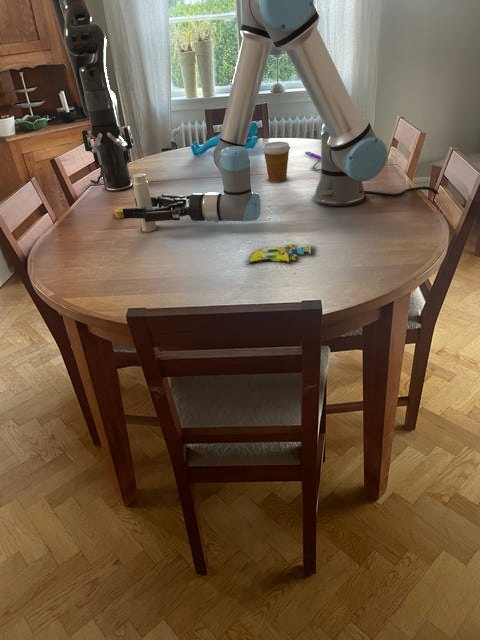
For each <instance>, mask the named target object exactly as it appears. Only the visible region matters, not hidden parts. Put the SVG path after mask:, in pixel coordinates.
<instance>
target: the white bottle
mask: <svg viewBox="0 0 480 640" xmlns="http://www.w3.org/2000/svg"><path fill="white" fill-rule="evenodd" d="M132 180H133V182H132V187H133V191H134V198H136V202H137V207H136V208H144V207H145V209H146V210H147V209H154V207H152V201H151V197H152V196H151V191H150V185H149V181H148V180H147V175H146V173H141V172H140V173H135V174H133V175H132ZM136 202H135V203H136ZM139 221H140V226H141V230H142V232H144V233H149V232H150V233H151V232H153V231H155V230H156V229H157V222H156V221H153V222H145V219H144V218H139Z"/></svg>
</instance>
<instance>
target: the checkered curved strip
mask: <svg viewBox="0 0 480 640" xmlns="http://www.w3.org/2000/svg"><path fill="white" fill-rule="evenodd" d="M304 154H305V155H307V156H309V157H312V158H315V159H318V160H317V161H316V162H315V163H314V164H313V165H312V170H314V171H321V168H316V165H318V163H320V162H321V155H319V154H315V153H314V152H311V151H304Z"/></svg>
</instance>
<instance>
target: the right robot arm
mask: <svg viewBox="0 0 480 640" xmlns="http://www.w3.org/2000/svg"><path fill="white" fill-rule="evenodd" d="M314 2H315V0H246V2H245V7H244V11H243V17H242V22H241V27H240V34H241V36H242V40H241V45H240V49H239V53H238V57H237V61H236V66H235V70H234V75H233V78H232V83H231V87H230V91H229V95H228V99H227V104H226V107H225V112H224V118H223V122H222V127H221V129H220V133H221V134H220V133H219V134H220V139H219V142H218V145H217V146H216V147H214V149H213V153H212V157H213V158H212V159H213V162H214V165H215V167H216V168H217V169H218V171H219V173H220V174H221V177H222V179H221V180H222V187H223V192H207V193H205V194H204V193H191V194H187V195H184V194H183V195H181V194H169V193H168V194H166V193H162V194H160V195H159V196H151V201H152V207H153V209H147V210H146V209H145V207H144V208H138V207H137V202H136V197H134V202H135V206H136V207H129V208H123V214H124V218H123V219H140V218H144V219H145V222H153V221H155V222H166V221H180V220H181V218H182V217H185V216H189V218H190V220H191V221H192V222H205V221H207V222H215V223H218V222H252V221H253V222H254V221H257V220H259V217H260V215H261V210H262V209H261V207H262V205H261V196H260V194H259V193H257V192H253V191H252V185H251V165H250V163H251V160H250V155H249V149H247V148H245V143H246V139H247V138H248V137H247V136H248V132H249V128H250V124H251V122H253V121H252V120H253V116H254V113H255V109H256V106H257V101H258V97H259V94H260V90H261V86H262V82H263V78H264V75H265V71H266V67H267V65H268V64H267V63H268V59H269V57H270V53H271V48H272V47H273V46H274V47H275V49H277V50H281V51H284V52H285V53H286V55H287V57H288V59H289V61H290V63H291V64H292V66H293V68H294V71H295V72H296V74H297V76H298V78H299V79H300V82H301V83H302V85H303V87H304V89H305V91H306V93H307V95H308V96H309V99H310V101H311V102H312V104H313V106H314V108H315V110H316V112H317V113H318V115H319V117H320V119H321V121H322V123H323V125H322V126H321V134H320V156H321V160H320V169H321V170H320V176H319V179H318V182H317V185H316V188H315V190H314V201H315V202H317V204H320V205H324V206H328V207H349V206H354V205H356V204H360V203H361V202H363V201H364V199H365V195H373V196H382V197H389V198H390V197H391V198H394V197H395V198H396V197H402V196H403V195H405V194H406V193H408V192H414V191H420V190H421V191H422V190H423V191H424V190H426V191H430V192H432V193H433V194H434V195H439V192H438V190H437V189H435V188H434V187H431V186H426V185H425V186H424V185H423V186H415V187H409V188H406V189H405V188H404V190H402V191H401V192H397V193H391V192H390V193H389V192H379V191H372V190H365V189H364V185H363V182H366V181H370V180H372V179H374V178H375V177H377V176H379V174H380V173H381V172H382V171H383V169H384V168H385V165H386V163H387V161H388V153H389V151H388V147H387V145H386V143H385V142H384V141H383V140H382V139H381V138H380V137H377V135H376V133H375V131H374V130H373V127H372V125H371V123H370V121H369V119H368V118H367V117H364V116H360V115H359V113H358V110H357V109H356V106H355V104H354V102H353V100H352V98H351V96H350V94H349V92H348V89H347V88H346V86H345V83H344V81H343V79H342V77H341V75H340V72H339V71H338V69H337V66H336V65H335V63H334V62H335V61H334V60H333V58H332V56H331V54H330V52H329V50H328V48H327V45H326V44H325V42H324V39H323V37H322V36H321V34H320V31H319V29H318V26H319V21H320V15H319V12H318V10H317V8H316V6H315V3H314Z"/></svg>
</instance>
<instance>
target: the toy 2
mask: <svg viewBox="0 0 480 640" xmlns="http://www.w3.org/2000/svg"><path fill="white" fill-rule="evenodd" d="M287 249H288V250H287ZM305 254H308V255H309V256H311V255H312V244H309V245H308V247H305V246H304V245H303V246H302V247H299V248H297V247H295V245H294V244H290V245H288V244H287V245H286V246H285V248H283V247H278V246H265V247H262V248H260V249H257V250H255V252H254V253H253V254H252V255H251V257H250V259H249V262H248V264H249V265H251V264H254V263H260V262H269V261H270V262H282V263H288V264H291V261H292V262H296V261H297V258H298V256H304V255H305Z"/></svg>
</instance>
